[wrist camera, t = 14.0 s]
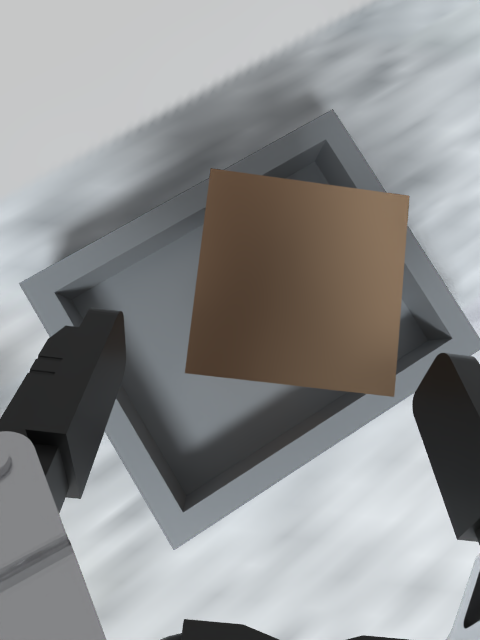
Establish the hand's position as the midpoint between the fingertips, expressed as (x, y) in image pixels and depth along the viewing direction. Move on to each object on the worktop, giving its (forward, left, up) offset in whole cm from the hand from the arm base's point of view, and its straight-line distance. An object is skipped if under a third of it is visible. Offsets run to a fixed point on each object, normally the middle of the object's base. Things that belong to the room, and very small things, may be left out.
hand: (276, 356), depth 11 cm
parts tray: (0, -2, -9) cm, 9 cm away
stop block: (0, -2, -8) cm, 8 cm away
